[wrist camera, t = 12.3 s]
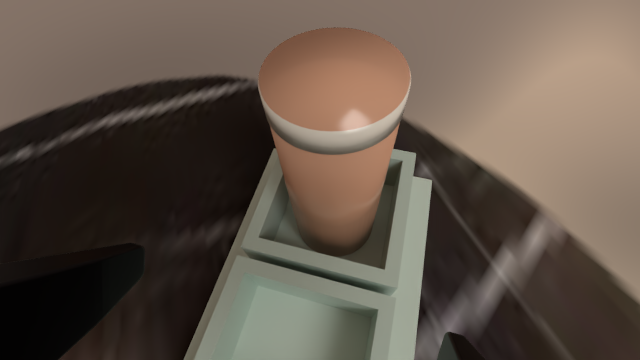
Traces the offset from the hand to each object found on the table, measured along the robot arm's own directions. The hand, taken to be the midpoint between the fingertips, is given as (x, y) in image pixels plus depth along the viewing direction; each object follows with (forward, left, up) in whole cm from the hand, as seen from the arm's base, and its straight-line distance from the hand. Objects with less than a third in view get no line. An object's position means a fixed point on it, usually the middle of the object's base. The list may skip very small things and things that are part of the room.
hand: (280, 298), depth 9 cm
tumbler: (+7, +2, -11) cm, 14 cm away
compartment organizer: (+2, +1, -13) cm, 13 cm away
